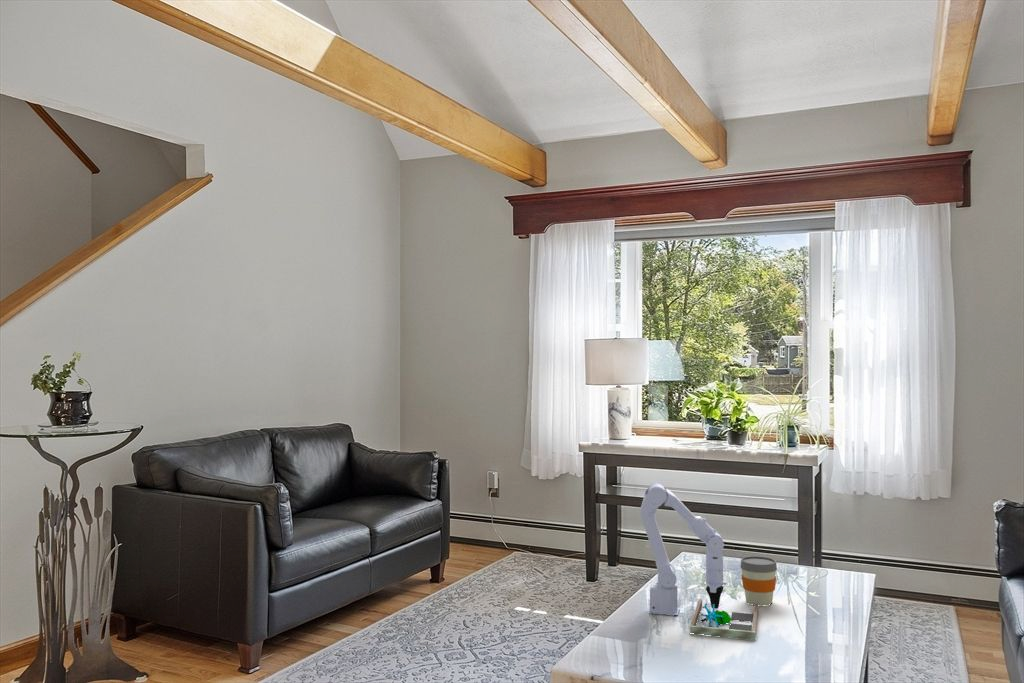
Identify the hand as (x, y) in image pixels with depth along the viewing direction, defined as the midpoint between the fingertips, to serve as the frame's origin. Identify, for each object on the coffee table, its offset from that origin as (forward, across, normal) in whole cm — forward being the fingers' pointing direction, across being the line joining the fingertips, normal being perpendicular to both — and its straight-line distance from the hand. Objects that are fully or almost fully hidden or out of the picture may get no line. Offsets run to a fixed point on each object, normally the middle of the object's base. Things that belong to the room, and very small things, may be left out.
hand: (715, 607), depth 284 cm
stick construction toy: (+2, -11, 0) cm, 11 cm away
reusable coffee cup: (+2, +17, -14) cm, 22 cm away
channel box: (+2, -8, -4) cm, 9 cm away
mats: (+2, -8, -9) cm, 12 cm away
